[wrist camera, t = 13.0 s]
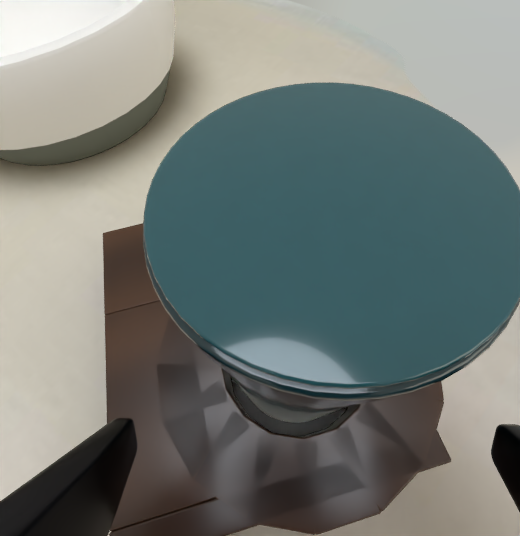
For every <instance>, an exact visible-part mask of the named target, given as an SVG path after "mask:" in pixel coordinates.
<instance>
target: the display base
mask: <svg viewBox="0 0 520 536" xmlns="http://www.w3.org/2000/svg"><path fill="white" fill-rule="evenodd" d="M103 255H104V304H105V342H106V390H107V424H108V423H109V422H111V421H112V420H114V419H116V418H131V419H132V420H133V421H134V426H135V431H136V437H137V444H138V446H137V453H136V456H135V459H134V462H133V465H132V468H131V471H130V474H129V477H128V480H127V483H126V486H125V489H124V492H123V495H122V498H121V500H120V503H119V506H118V509H117V512H116V515H115V518H114V520H113V523H112V525H111V528H110V531H112V532H110V536H227V535H230V534H233V533H236V532H239V531H242V530H245V529H248V528H251V527H254V526H257V525H264V526H269V527H275V528H280V529H286V530H291V531H296V532H302V533H307V534H313V535H314V534H315V533H316V534H321V533H324V532H327V531H330V530H332V529H335V528H338V527H341V526H344V525H347V524H350V523H353V522H356V521H359V520H362V519H365V518H368V517H371V516H374V515H377V514H380V513H381V512H382V511H383V510H384V509H385V508H386V507H387V506H388V505H389V504H390V503H391V502H392V501H393V500H394V498H395V497H396V496H397V495H398V494H399V493H400V492H401V491H402V490H403V489H404V488H405V486H406V485H407V484H408V483H409V482H410V481H411V480H412V479H413V478H414V477H415V476H416V474H417V473H419V472H422V471H425V470H428V469H431V468H434V467H437V466H440V465H443V464H446V463H449V462H451V459H450V456H449V454H448V452H447V450H446V448H445V446H444V444H443V442H442V440H441V438H440V436H439V434H438V432H437V430H436V429H437V425H438V422H439V418H440V415H441V411H442V408H443V404H444V402H443V400H444V398H443V391H442V384H441V381H440V382H437V383H434V384H432V385H429V386H426V387H424V388H421V389H418V390H416V391H413V392H410V393H407V394H404V395H400V396H397V397H394V398H389V399H385V400H380V401H375V402H370V403H366V404H353V405H350V406H349V407H348V409H347V411H346V412H345V413H344V414H343V415H342V416H340V417H339V418H338V419H337V420H336V421H335V422H334V423H333V424H332V425H331V426H330V427H329V428H328V429H325V430H322V431H319V432H315V433H312V434H309V435H306V436H302V437H297V436H291V435H284V434H277V433H272V432H271V431H269V430H268V429H266V428H265V427H263V426H262V425H260V424H258V423H257V422H255V421H254V420H252V419H251V418H249V416H248V415H247V413H246V412H245V410H244V409H243V408H242V406H241V405H240V403H239V402H238V400H237V399H236V397H235V396H234V393H233V388H232V384H231V379H230V375H229V374H228V373H227V372H226V371H225V370H224V369H222V368H221V367H220V366H218V365H217V364H216V363H214V362H213V361H211V360H210V359H209V358H208V357H207V356H206V355H205V354H204V353H203V352H202V351H201V350H200V349H199V348H198V347H197V346H196V345H195V344H194V343H193V342H192V341H191V340H190V339H189V338H188V337H187V336H186V335H185V334H184V333H183V332H182V331H181V330H180V329H179V327H178V326H177V325H176V323H175V322H174V321H173V319H172V318H171V317H170V315H169V314H168V312H167V311H166V310H165V308H164V307H163V305H162V303H161V301H160V299H159V297H158V295H157V293H156V291H155V289H154V288H153V285H152V282H151V279H150V276H149V273H148V270H147V267H146V261H145V255H144V249H143V224H139V225H135V226H130V227H126V228H122V229H118V230H114V231H110V232H106V233H103Z"/></svg>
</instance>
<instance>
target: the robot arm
mask: <svg viewBox="0 0 520 536" xmlns="http://www.w3.org/2000/svg"><path fill="white" fill-rule="evenodd" d="M137 446H138V444H137V437H136V431H135V426H134V421H133V420H132V419H131V418H116V419H114V420H112V421H111V422H109V423H108V424H107V425H105V426H104V427H103V428H101V429H100V430H98V431H97V432H96V433H94V434H93V435H92V436H90V437H89V438H87V439H86V440H85V441H83V442H82V443H80V444H79V445H78V446H76V447H75V448H74V449H72V450H71V451H69V452H68V453H67V454H65V455H64V456H62V457H61V458H60V459H58V460H57V461H56V462H54V463H53V464H51V465H50V466H49V467H47V468H46V469H45V470H43V471H42V472H40V473H39V474H38V475H36V476H35V477H33V478H32V479H31V480H29V481H28V482H27V483H25V484H24V485H22V486H21V487H20V488H18V489H17V490H15V491H14V492H13V493H11V494H10V495H9V496H7V497H6V498H4V499H3V500H2V501H0V536H107V535H108V533H109V530H110V528H111V525H112V523H113V520H114V518H115V515H116V512H117V509H118V506H119V503H120V500H121V498H122V495H123V492H124V489H125V486H126V483H127V480H128V477H129V474H130V471H131V468H132V465H133V462H134V459H135V456H136V453H137ZM491 455H492V459H493V462H494V464H495V466H496V468H497V470H498V472H499V474H500V476H501V477H502V479H503V481H504V483H505V485H506V487H507V489H508V491H509V493H510V495H511V497H512V498H513V500H514V502H515V504H516V506H517V508H518V510H519V512H520V426H519V425H515V424H501V425H499V426H498V427H497V428H496V432H495V436H494V440H493V445H492V449H491Z"/></svg>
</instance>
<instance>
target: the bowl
mask: <svg viewBox="0 0 520 536" xmlns="http://www.w3.org/2000/svg"><path fill="white" fill-rule="evenodd" d="M174 36H175V4H174V0H0V158H1V159H4V160H7V161H10V162H12V163H19V164H25V165H53V164H60V163H66V162H72V161H76V160H79V159H83V158H86V157H90V156H93V155H95V154H98V153H100V152H102V151H105V150H107V149H109V148H112V147H114V146H115V145H117V144H119V143H121V142H122V141H124V140H126V139H128V138H129V137H131V136H132V135H133V134H135V133H136V132H137V131H138V130H140V129H141V128H142V127H143V126H145V125H146V124H147V122H148V121H149V120H150V119H151V118H152V117H153V116H154V115H155V114H156V112H157V110H158V109H159V107H160V105H161V104H162V102H163V99H164V96H165V92H166V86H167V82H168V77H169V72H170V68H171V63H172V60H173V56H174Z"/></svg>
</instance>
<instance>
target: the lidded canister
mask: <svg viewBox="0 0 520 536" xmlns="http://www.w3.org/2000/svg"><path fill="white" fill-rule="evenodd" d="M143 249H144V255H145V261H146V267H147V270H148V273H149V276H150V279H151V282H152V285H153V288H154V289H155V291H156V293H157V295H158V297H159V299H160V301H161V303H162V305H163V307H164V308H165V310H166V311H167V312H168V314H169V315H170V317H171V318H172V319H173V321H174V322H175V323H176V325H177V326H178V327H179V329H180V330H181V331H182V332H183V333H184V334H185V335H186V336H187V337H188V338H189V339H190V340H191V341H192V342H193V343H194V344H195V345H196V346H197V347H198V348H199V349H200V350H201V351H202V352H203V353H204V354H205V355H206V356H207V357H208V358H209V359H210V360H211V361H213V362H214V363H216V364H217V365H218V366H220V367H221V368H222V369H224V370H225V371H226V372H227V373H228V374H229V375H230V376H231V377H232V379H233V380H234V381H235V382H236V383H237V384H238V386H239V387H240V388H241V389H242V390H243V391H244V393H245V394H246V395H247V396H248V397H249V399H250V400H251V401H252V402H253V403H254V404H255V405H256V406H257V407H258V408H259V409H260V410H261V411H262V412H264V413H265V414H267V415H268V416H270V417H272V418H274V419H277V420H280V421H284V422H290V423H302V422H307V421H311V420H314V419H316V418H319V417H322V416H324V415H327V414H329V413H332V412H335V411H337V410H340V409H342V408H345V407H348V406H350V405H353V404H366V403H370V402H375V401H380V400H385V399H389V398H394V397H397V396H400V395H404V394H407V393H410V392H413V391H416V390H418V389H421V388H424V387H426V386H429V385H432V384H434V383H437V382H440V381H442V380H444V379H445V378H447V377H449V376H451V375H452V374H454V373H456V372H458V371H459V370H461V369H463V368H465V367H466V366H468V365H469V364H470V363H471V362H473V361H474V360H475V359H476V358H477V357H479V356H480V355H481V354H482V353H483V352H485V351H486V350H487V349H488V348H489V347H490V346H491V345H492V344H493V342H494V341H495V340H496V339H497V338H498V337H499V335H500V334H501V333H502V332H503V331H504V329H505V328H506V327H507V325H508V323H509V321H510V319H511V318H512V316H513V314H514V312H515V310H516V309H517V307H518V305H519V302H520V190H519V187H518V185H517V184H516V182H515V180H514V179H513V177H512V175H511V174H510V172H509V170H508V169H507V168H506V166H505V165H504V164H503V162H502V161H501V160H500V159H499V158H498V156H497V155H496V154H495V153H494V151H492V149H490V148H489V147H488V146H487V145H486V144H485V143H484V142H483V141H482V140H481V139H480V138H479V137H478V136H476V135H475V134H474V133H473V132H471V131H470V130H469V129H468V128H466V127H465V126H464V125H462V124H461V123H459V122H458V121H456V120H454V119H453V118H452V117H450V116H448V115H447V114H445V113H443V112H441V111H439V110H437V109H435V108H433V107H432V106H430V105H428V104H425V103H423V102H420V101H418V100H415V99H413V98H410V97H408V96H404V95H401V94H398V93H395V92H392V91H388V90H383V89H379V88H374V87H370V86H363V85H356V84H346V83H305V84H294V85H288V86H282V87H276V88H272V89H268V90H264V91H260V92H257V93H254V94H251V95H248V96H245V97H242V98H240V99H238V100H235V101H233V102H231V103H229V104H226V105H224V106H223V107H221V108H219V109H217V110H216V111H214V112H212V113H210V114H209V115H207V116H206V117H205V118H203V119H202V120H200V121H199V122H197V123H196V124H195V125H194V126H193V127H191V128H190V129H189V130H188V131H187V132H186V133H185V134H183V135H182V136H181V138H180V139H179V140H178V141H177V142H176V143H175V144H174V145H173V146H172V148H171V149H170V150H169V152H168V153H167V155H166V156H165V157H164V159H163V160H162V162H161V163H160V165H159V167H158V169H157V171H156V173H155V175H154V177H153V179H152V182H151V185H150V188H149V192H148V195H147V199H146V205H145V211H144V222H143Z"/></svg>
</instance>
